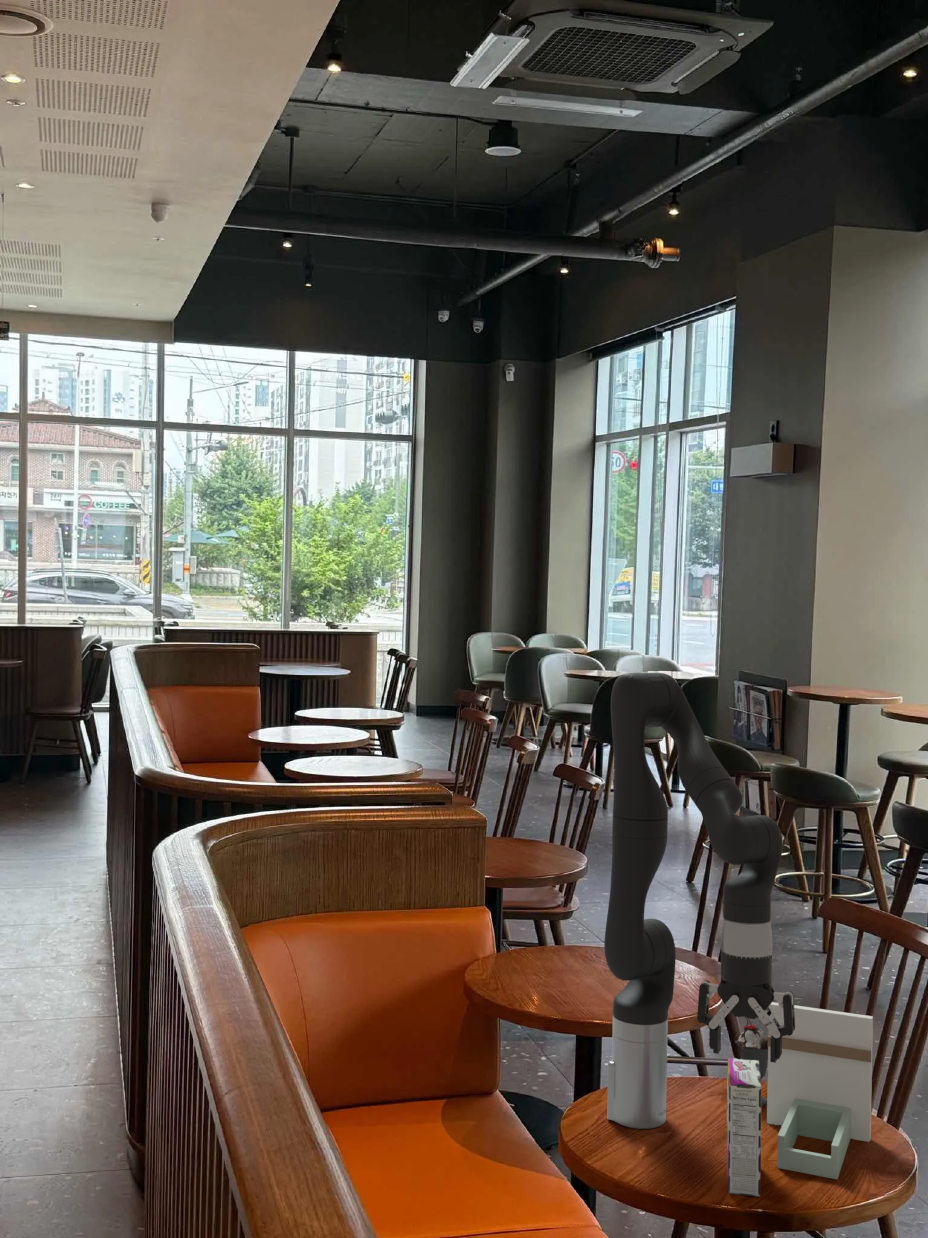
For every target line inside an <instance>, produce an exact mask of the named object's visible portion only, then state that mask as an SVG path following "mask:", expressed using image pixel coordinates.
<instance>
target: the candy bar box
mask: <svg viewBox="0 0 928 1238" xmlns="http://www.w3.org/2000/svg"><path fill="white" fill-rule="evenodd" d="M726 1080H727V1081H726V1082H727V1083H726V1171H727V1173H726V1174H727V1176H726V1177H727V1191H728V1194H731V1195H736V1196H747V1197H755V1198H756V1197H758V1198H759V1197H761V1191H762V1190H761V1189H762V1188H761V1183H762V1182H761V1179H762V1175H761V1174H762V1166H761V1165H762V1106H761V1096H762V1079H761V1076H760V1065H759V1061H757V1060H747V1059H741V1058H737V1057H733V1058H732V1057H731V1058H730V1057H729V1058H727V1079H726Z"/></svg>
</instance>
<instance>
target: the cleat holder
mask: <svg viewBox="0 0 928 1238" xmlns="http://www.w3.org/2000/svg"><path fill="white" fill-rule="evenodd" d="M769 1007H770V1009H771V1010H772V1012H773V1013H774V1015H775V1017H776V1019H777V1021H778V1022H779V1023H780V1025H781V1026H782V1025H784V1013H783V1008H781V1007H780V1006H779V1004H778V1002H776V1001H775V1002H774V1001H773V1002H772V1003H771V1004H770V1005H769ZM794 1012H795V1030H794V1031H793V1034H792V1035H790V1036H788V1035H786V1036H783V1037H782V1054H781V1056H780V1058H779V1059H777V1061H776V1063H773V1062H770V1047H771V1036H772V1034H771V1033H770V1031H769V1030H768V1035H767V1038H768V1045H767V1046H768V1063H767V1090H766V1091H767V1094H766V1095H767V1097H766V1099H767V1104H766V1124H769V1125H773V1124H774V1126H779V1125H781V1126H780V1129H779V1132H778V1134H777V1147H776V1149H777V1153H776V1154H777V1155H776V1156H777V1157H776V1160H777V1161H776V1168H777V1169H782V1170H785V1171H792V1172H798V1173H801V1174H802V1173H803V1174H807V1175H811V1176H812V1175H813V1176H817V1177H821V1178H822V1177H823V1178H828V1179H831V1180H836V1181H837V1180H839V1177H840V1173H841V1170H842V1167H843V1164H844V1160H845V1158H846V1154H847V1151H848V1150H847V1149H848V1147H849V1144H850V1142H851V1140H857V1141H861V1142H867V1143H870V1142H871V1137H872V1135H871V1134H872V1128H871V1127H872V1093H873V1091H872V1088H873V1087H872V1084H873V1083H872V1082H873V1079H872V1078H873V1033H874V1031H873V1029H874V1026H873V1025H874V1017H873V1015H872V1016H871V1015H866V1014H865V1015H864V1014H858V1013H851V1012H845V1011H844V1012H843V1011H838V1010H830V1009H823V1008H816V1007H809V1006H803V1005H796V1004H794ZM798 1136H802V1137H806V1138H812V1139H816V1140H822V1141H823V1140H824V1141H827V1142H831V1146H830V1151H831V1152H830V1153H831V1154H830V1155H829V1154H824V1153H818V1152H812V1151H810V1150H809V1151H807V1150H803V1149H796V1148H794V1145H795V1144H796V1141H797V1138H798Z"/></svg>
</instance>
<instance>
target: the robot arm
mask: <svg viewBox="0 0 928 1238" xmlns="http://www.w3.org/2000/svg"><path fill="white" fill-rule="evenodd" d="M610 715H611V716H610V718H611V719H610V720H611V722H610V723H611V732H612V733H611V734H612V736H611V737H612V747H613V751H612V752H613V802H612V803H613V804H612V829H611V830H612V833H611V835H612V836H611V840H612V842H611V844H612V849H611V851H612V852H611V872H610V887H609V888H610V893H609V899H608V908H607V916H606V923H605V932H604V944H603V945H604V947H603V948H604V949H603V950H604V957H605V961H606V964H607V967H608V969H609V971H610V972H611V974H612V975H613V976H614V977H615V978H617V979H618V980H620V981H628V982H627V984H626V985H625V986H624V988H623V989H622V990H620V992H618V993H617V995H615V997H614V999H613V1002H612V1034H611V1035H612V1038H611V1040H612V1042H611V1043H612V1046H611V1047H612V1048H611V1059H610V1060H609V1061H608V1065H607V1097H606V1098H607V1102H606V1104H607V1105H606V1108H607V1109H606V1112H607V1113H606V1119H607V1120H609V1121H613V1122H615V1123H616V1124H619V1125H621V1126H624V1127H627V1128H631V1129H632V1128H633V1129H640V1130H641V1129H654V1128H658V1127H661V1126H663V1125H664V1124H665V1123H666V1121H667V1118H666V1117H667V1086H668V1085H667V1082H668V1081H667V1079H668V1077H667V1076H668V1073H667V1072H668V1070H667V1069H668V1024H669V1008H670V1006H671V1004H672V1002H673V998H674V990H675V988H674V987H675V976H676V975H675V973H676V960H677V959H676V958H677V957H676V952H677V951H676V945H675V939H674V937H673V934H672V932H671V930H670V928H669V927H668V926H667V925H666V923H664V922H663V921H661V920H659V919H657V918H645V906H646V899H647V896H648V892H649V889H650V886H651V885H652V882H653V880H654V878H655V875H656V874H657V872H658V869H659V867H660V865H661V863H662V860H663V858H664V855H665V852H666V851H667V850H666V848H667V844H668V824H669V823H668V821H669V820H668V819H669V818H668V817H669V816H668V815H669V814H668V813H669V812H668V811H669V810H668V809H669V808H668V805H667V801H666V798H665V795H664V793H663V791H662V789H661V787H660V784H659V783H658V781H657V780H656V778H655V776H654V774H653V771H652V770H651V767H650V766H649V763H648V759H647V756H646V745H645V729H646V728H660V727H661V728H662V729H663V730H664V731H666V734H668V735H669V736H670V737H671V738H672V739H673V741H674V744H675V745H676V750H677V771H678V772H677V773H678V777H679V779H680V782H681V784H682V786H683V788H684V790H685V792H686V793H687V795H688V796H689V798H690V799H691V800H692V802H693V804H695V806H696V808H697V810H699V812H700V814H701V816H702V819H703V823H704V826H705V829H706V833H707V835H708V839H709V842H710V845H711V847H712V850H713V851H714V852H715V854H716V855H717V857H718V858H720V859H721V860H722V861H723V862H724V863H727V864H729V865H734V866H735V865H736V866H737V865H743V867H742V870H741V872H740V873H739V874H738V875H736V876H735V877H732V878H731V879H729V880H727V881H726V882H725V884H724V886H723V895H722V898H723V899H722V901H723V903H722V904H723V905H722V907H723V908H722V911H723V913H722V917H723V918H722V926H721V931H720V982H719V984H717V983H712V982H710V981H709V980H708V979H705V980H703V981H702V982H701V984H700V985H699V986H698V988H699V989H698V1003H697V1015H696V1016H697V1018H696V1019H697V1022H698V1023H700V1024H704V1025H706V1026H707V1027H708V1029H709V1032H708V1033H709V1035H708V1036H709V1037H708V1039H709V1040H708V1041H709V1042H708V1043H709V1044H708V1046H709V1049H710V1050H713V1051H712V1052H713V1054H716V1055H719V1054H720V1052H721V1051H722V1050H721V1049H722V1026H721V1025H720V1024H721V1023H722V1022H723V1020H724V1019H725V1018H726V1017H727V1015H729V1014H732V1015H733V1017H736V1018H743V1017H744V1016H745V1017H746V1018H747V1019H748V1018H749V1020H750V1019H752V1020H756V1019H758V1018H759V1020H760V1021H761V1024H763V1025H764V1026H765V1027H766V1028H767V1029H768V1030H767V1031H768V1032H769V1031H770V1033H771V1034H772V1036H771V1047H770V1062H773V1063H776V1061H777V1059H779V1058H780V1056H781V1054H782V1037H783V1036H786V1035H788V1036H790V1035H792V1034H793V1031H794V1030H795V1012H794V1005H795V999H794V998H795V997H794V995H795V994H794V993H793V991H791V990H786V992H780V991H779V992H778V991H775V990H774V988H773V982H772V981H773V949H774V948H773V947H774V943H773V931H772V922H771V919H772V918H771V917H772V915H771V914H772V913H771V912H772V911H771V910H772V908H771V907H772V906H771V904H772V903H771V902H772V901H771V900H772V897H771V896H772V891H773V887H774V884H775V882H776V877H777V873H778V870H779V866H780V862H781V858H782V853H783V846H784V845H783V841H784V840H783V836H782V832H781V829H780V827H779V824H778V823H777V822H776V821H775V820H774V819H773V818H772V817H770V816H768V815H764V814H763V815H762V814H760V815H759V814H758V815H757V814H756V815H747V816H737V815H736V813H737V812H739V810H740V809H741V807H742V805H743V800H744V798H743V797H744V796H743V793H742V792H741V789H740V788H739V786H738V785H737V784H736V782H735V781H734V779H733V778H732V777H731V775H730V774H729V773H728V771H727V770H726V769H725V767H724V766H723V765H722V763H721V761H720V760H719V759H718V758H717V756H716V755H715V753H714V751H713V749H712V748H711V746H710V744H709V742H708V740H707V738H706V737H705V736H706V735H704V732H703V730H702V728H701V725H700V724H699V721H698V720H697V717H696V715H695V713H694V711H693V709H692V707H691V705H690V703H689V701H688V699H687V696H686V695H685V692H684V691H683V689H682V688H681V686H680V685H679V683H678V681H676V679H675V678H674V677H673V676H671V675H669V674H668V673H663V672H626V673H622V674H620V675H619V676H618V677H617V678H616V679H615V681H614V683H613V686H612V690H611V695H610ZM715 993H717V994H718V996H719V998H720V999H721V1001H722V1002H723V1005H722V1006H721V1007H720V1009H719V1010H718V1012H717V1013H716V1014H715V1015H712V1014H710V1013H709V1012H710V999H712V998H713V996H715ZM774 1000H775V1002H776V1003H778V1004H779V1006H780V1007H781V1008H783V1013H784V1025H782V1026H781V1025H780V1023H779V1022H778V1021H777V1019H776V1017H775V1015H774V1013H773V1012H772V1010H771V1009H770V1007H769V1005H770V1004H771V1003H772V1002H774ZM745 1017H744V1018H745Z"/></svg>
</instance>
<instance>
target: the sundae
mask: <svg viewBox="0 0 928 1238" xmlns="http://www.w3.org/2000/svg"><path fill="white" fill-rule="evenodd" d="M744 1018H745V1019H746V1025H744V1026H743V1032H741V1033H740V1035H739V1037H738V1039H737V1040H735V1042H734V1043H735V1045H736V1046H737V1047H738V1049H739V1055H740V1059H747V1060H757V1061H759V1065H760V1076H761V1080H763V1078H764V1077H766V1073H767V1070H768V1046H767V1045H768V1037H766V1036H765V1032H764V1031H763V1030H762V1029H761V1028H759V1027H757V1026H756V1025H754V1024H752V1022H751V1020H750V1018H747V1017H745V1016H744ZM765 1105H767V1097H765V1096H763V1095H761V1107H762V1106H765Z"/></svg>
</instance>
